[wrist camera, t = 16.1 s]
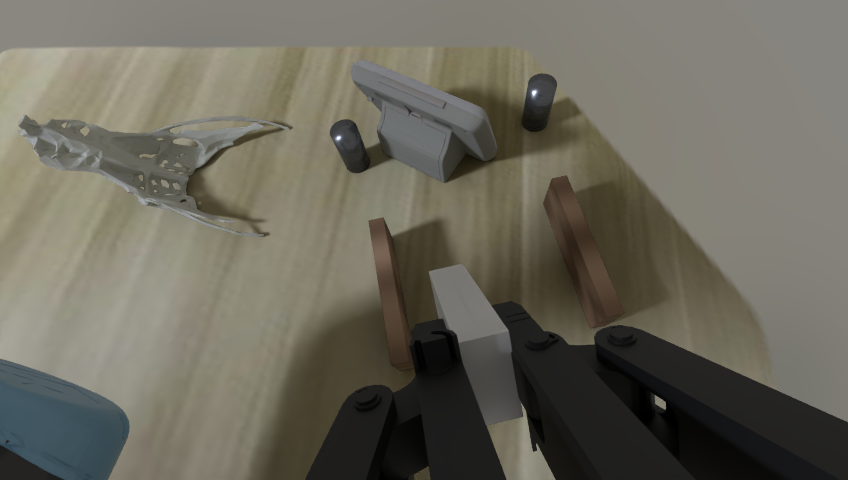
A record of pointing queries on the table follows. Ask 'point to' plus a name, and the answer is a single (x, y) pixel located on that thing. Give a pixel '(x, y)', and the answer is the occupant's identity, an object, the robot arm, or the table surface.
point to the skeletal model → (137, 157)
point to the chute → (574, 246)
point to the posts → (532, 120)
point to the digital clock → (424, 121)
